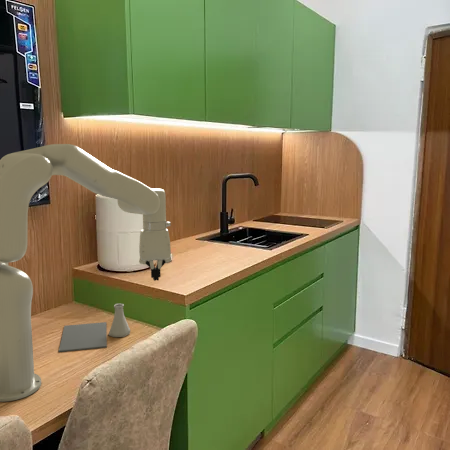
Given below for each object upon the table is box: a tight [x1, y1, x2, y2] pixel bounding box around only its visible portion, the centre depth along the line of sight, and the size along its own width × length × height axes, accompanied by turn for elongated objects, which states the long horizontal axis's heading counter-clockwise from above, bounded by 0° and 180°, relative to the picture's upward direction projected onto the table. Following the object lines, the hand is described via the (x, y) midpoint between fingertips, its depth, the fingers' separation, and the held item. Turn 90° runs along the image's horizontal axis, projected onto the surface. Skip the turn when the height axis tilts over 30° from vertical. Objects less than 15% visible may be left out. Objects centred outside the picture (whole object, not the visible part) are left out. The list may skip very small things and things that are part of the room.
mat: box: [58, 321, 108, 353], centre depth 141 cm, size 14×20×1 cm
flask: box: [108, 303, 131, 338], centre depth 143 cm, size 7×7×10 cm
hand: (155, 279), depth 144 cm, fingers closed
